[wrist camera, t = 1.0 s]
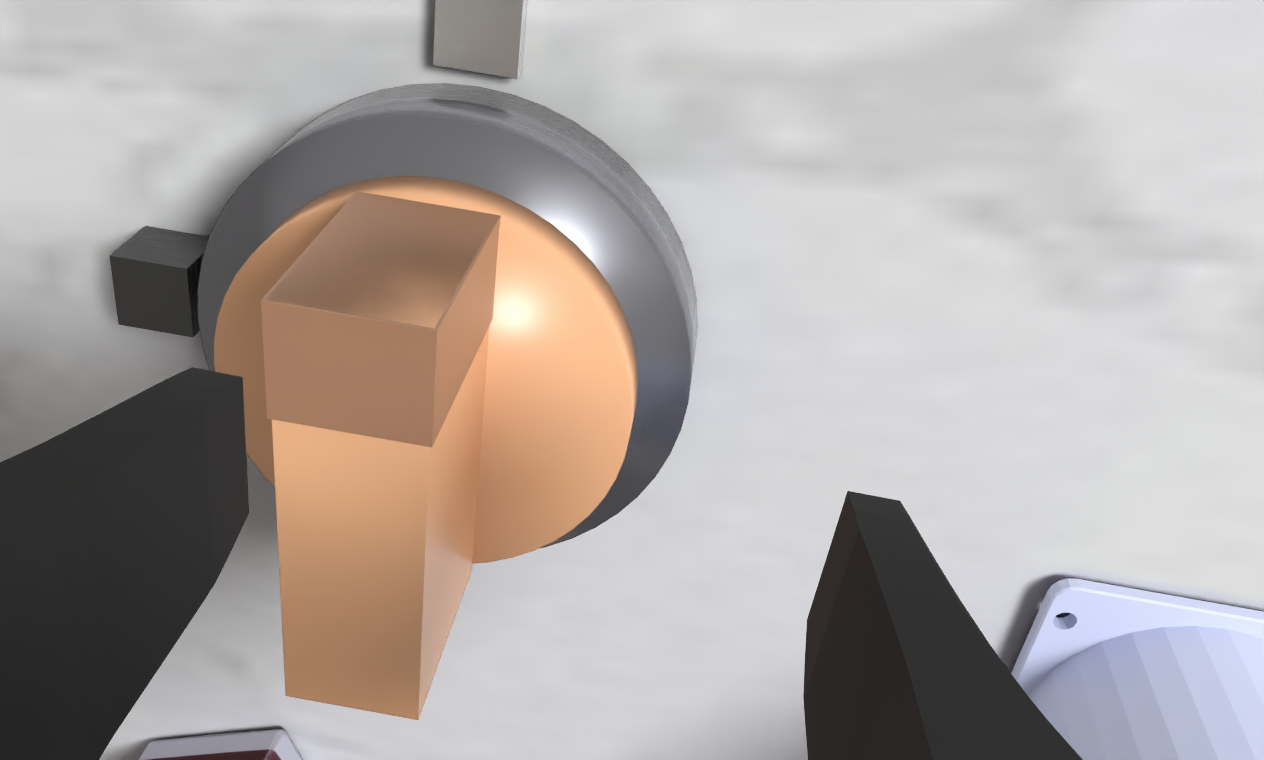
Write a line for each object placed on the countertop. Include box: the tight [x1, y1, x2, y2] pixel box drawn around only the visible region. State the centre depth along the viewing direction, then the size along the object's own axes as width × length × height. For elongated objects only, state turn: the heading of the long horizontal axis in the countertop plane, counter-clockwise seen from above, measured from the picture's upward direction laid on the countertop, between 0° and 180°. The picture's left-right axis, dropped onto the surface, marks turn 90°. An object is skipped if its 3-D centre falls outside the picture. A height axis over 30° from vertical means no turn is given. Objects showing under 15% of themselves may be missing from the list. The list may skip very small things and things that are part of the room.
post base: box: [110, 0, 698, 548], centre depth 23 cm, size 12×12×2 cm
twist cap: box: [214, 176, 639, 720], centre depth 20 cm, size 8×8×5 cm
